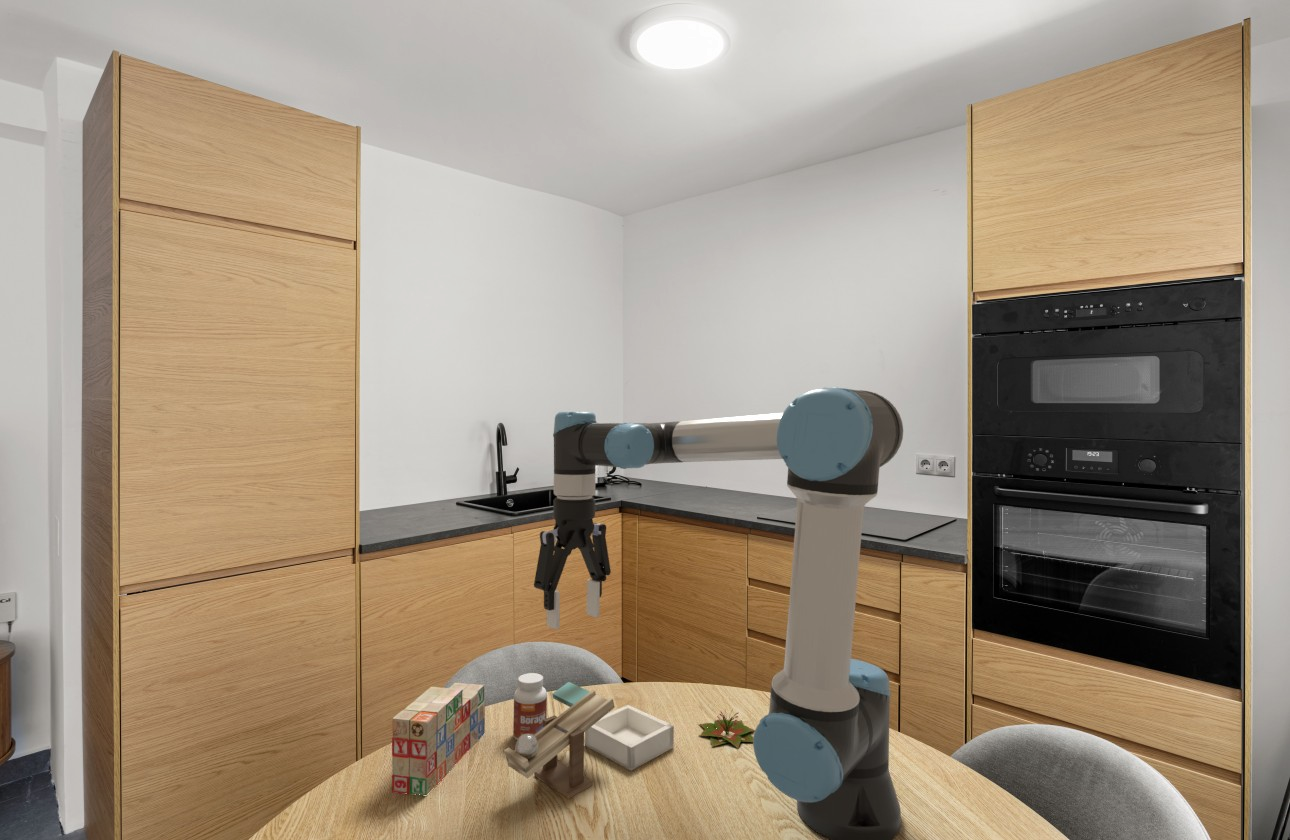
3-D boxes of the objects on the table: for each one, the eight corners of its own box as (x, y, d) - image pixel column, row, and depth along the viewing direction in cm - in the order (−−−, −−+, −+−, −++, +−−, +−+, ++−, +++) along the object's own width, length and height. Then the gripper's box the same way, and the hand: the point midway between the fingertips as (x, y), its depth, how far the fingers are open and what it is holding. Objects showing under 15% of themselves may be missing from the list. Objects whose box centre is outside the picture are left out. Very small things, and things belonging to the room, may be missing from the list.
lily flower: (688, 724, 128) (689, 701, 128) (746, 719, 130) (746, 696, 130) (706, 755, 116) (706, 730, 116) (768, 749, 119) (769, 724, 119)
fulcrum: (592, 785, 106) (592, 729, 106) (568, 798, 102) (568, 740, 102) (557, 764, 112) (558, 711, 112) (534, 775, 109) (534, 721, 108)
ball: (544, 755, 102) (541, 733, 102) (525, 767, 100) (523, 745, 99) (530, 746, 105) (528, 726, 104) (512, 758, 102) (509, 737, 102)
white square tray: (673, 747, 118) (673, 725, 118) (630, 770, 110) (631, 747, 110) (627, 725, 127) (627, 704, 126) (584, 745, 119) (585, 723, 119)
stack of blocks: (455, 729, 124) (455, 666, 124) (485, 733, 123) (485, 668, 123) (391, 793, 103) (391, 717, 103) (426, 798, 102) (427, 720, 102)
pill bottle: (518, 747, 118) (518, 686, 118) (509, 732, 123) (510, 674, 123) (550, 740, 121) (551, 680, 120) (541, 725, 126) (541, 669, 126)
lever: (616, 708, 112) (612, 693, 111) (528, 779, 99) (524, 763, 98) (569, 686, 121) (566, 673, 120) (484, 749, 107) (480, 734, 107)
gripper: (604, 490, 127) (603, 604, 127) (512, 500, 112) (511, 630, 112) (631, 493, 122) (630, 612, 122) (538, 504, 106) (538, 641, 107)
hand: (573, 621), depth 117 cm, fingers open, 9 cm apart
